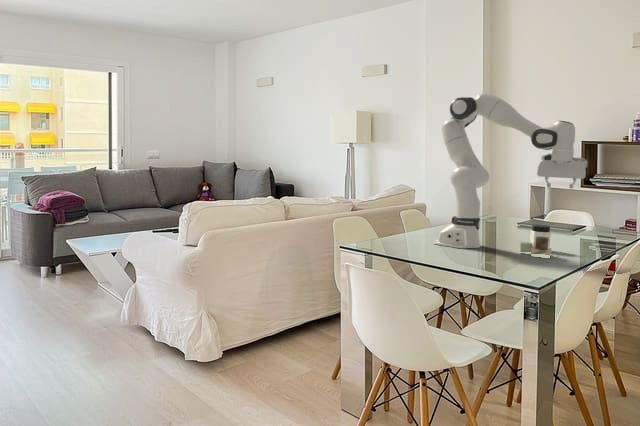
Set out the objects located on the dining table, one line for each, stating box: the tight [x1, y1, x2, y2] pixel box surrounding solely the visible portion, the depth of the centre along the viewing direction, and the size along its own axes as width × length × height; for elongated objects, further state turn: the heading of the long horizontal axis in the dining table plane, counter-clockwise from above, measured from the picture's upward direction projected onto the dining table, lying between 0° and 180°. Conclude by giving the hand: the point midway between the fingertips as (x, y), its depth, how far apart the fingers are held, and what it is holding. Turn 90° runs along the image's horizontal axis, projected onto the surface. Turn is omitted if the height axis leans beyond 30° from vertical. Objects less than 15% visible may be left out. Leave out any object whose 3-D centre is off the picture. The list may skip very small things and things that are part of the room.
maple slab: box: [531, 246, 553, 255], centre depth 250 cm, size 8×8×4 cm
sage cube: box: [518, 241, 533, 252], centre depth 256 cm, size 5×5×5 cm
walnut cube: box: [535, 236, 549, 250], centre depth 249 cm, size 5×5×5 cm
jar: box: [529, 224, 552, 248], centre depth 264 cm, size 9×8×12 cm
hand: (559, 187), depth 251 cm, fingers open, 8 cm apart
